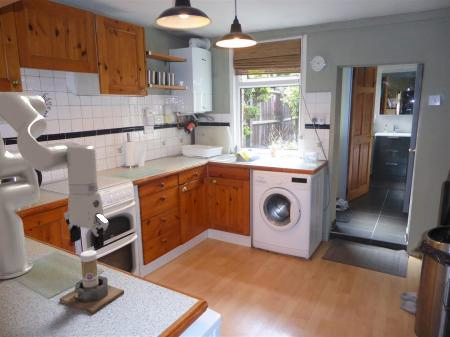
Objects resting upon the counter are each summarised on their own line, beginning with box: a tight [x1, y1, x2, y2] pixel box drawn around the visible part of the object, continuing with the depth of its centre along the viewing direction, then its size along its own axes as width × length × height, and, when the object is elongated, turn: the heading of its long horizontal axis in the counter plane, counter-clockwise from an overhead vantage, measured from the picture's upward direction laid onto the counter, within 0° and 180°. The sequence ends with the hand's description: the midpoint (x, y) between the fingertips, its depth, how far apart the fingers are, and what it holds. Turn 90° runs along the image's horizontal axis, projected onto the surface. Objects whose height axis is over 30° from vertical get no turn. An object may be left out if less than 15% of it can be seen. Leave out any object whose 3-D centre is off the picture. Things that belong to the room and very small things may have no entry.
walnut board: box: [59, 284, 125, 315], centre depth 101 cm, size 14×12×1 cm
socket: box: [74, 275, 109, 303], centre depth 100 cm, size 9×11×4 cm
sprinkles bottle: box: [79, 249, 99, 290], centre depth 99 cm, size 5×5×13 cm
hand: (87, 244), depth 98 cm, fingers open, 9 cm apart
